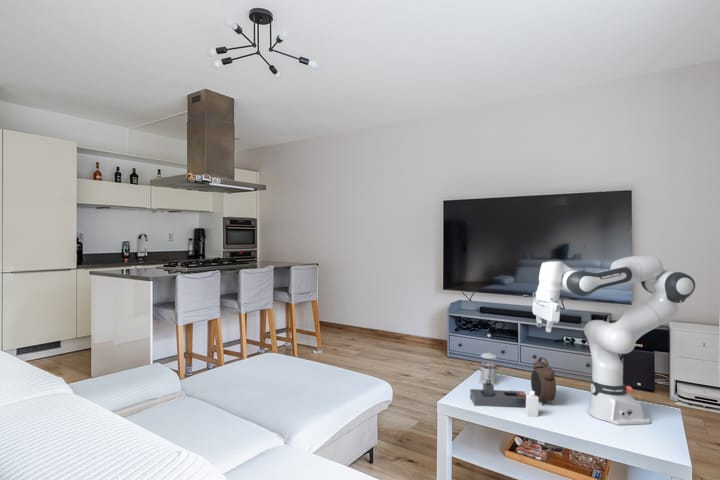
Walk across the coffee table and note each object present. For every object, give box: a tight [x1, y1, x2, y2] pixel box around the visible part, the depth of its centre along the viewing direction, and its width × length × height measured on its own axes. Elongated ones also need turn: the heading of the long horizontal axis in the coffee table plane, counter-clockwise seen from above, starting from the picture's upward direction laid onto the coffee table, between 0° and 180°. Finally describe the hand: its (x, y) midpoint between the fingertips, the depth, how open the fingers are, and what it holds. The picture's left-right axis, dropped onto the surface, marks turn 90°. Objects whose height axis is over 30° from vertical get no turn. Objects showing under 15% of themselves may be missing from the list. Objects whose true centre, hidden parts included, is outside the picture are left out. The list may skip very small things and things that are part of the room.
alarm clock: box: [530, 356, 557, 407], centre depth 186 cm, size 14×7×20 cm, turn 178°
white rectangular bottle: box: [525, 389, 539, 418], centre depth 171 cm, size 4×3×10 cm
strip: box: [469, 388, 526, 409], centre depth 184 cm, size 24×9×5 cm, turn 87°
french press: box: [478, 333, 499, 387], centre depth 209 cm, size 10×12×25 cm
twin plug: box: [482, 379, 495, 395], centre depth 184 cm, size 4×3×10 cm
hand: (543, 329), depth 173 cm, fingers open, 8 cm apart
